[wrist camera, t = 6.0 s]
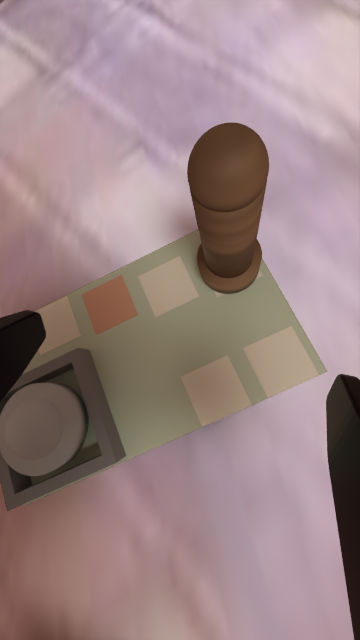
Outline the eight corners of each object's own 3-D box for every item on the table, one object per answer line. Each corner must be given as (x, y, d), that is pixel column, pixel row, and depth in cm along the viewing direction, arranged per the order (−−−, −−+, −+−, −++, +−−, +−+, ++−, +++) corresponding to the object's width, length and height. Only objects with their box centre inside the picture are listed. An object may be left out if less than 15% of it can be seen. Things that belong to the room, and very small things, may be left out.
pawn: (270, 277, 21) (317, 154, 10) (214, 303, 22) (195, 215, 10) (242, 228, 22) (254, 67, 11) (190, 254, 23) (148, 124, 11)
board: (323, 371, 20) (337, 370, 18) (30, 501, 22) (4, 517, 19) (235, 216, 24) (235, 197, 21) (-10, 338, 25) (-37, 333, 23)
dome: (103, 447, 20) (74, 462, 17) (31, 479, 21) (-14, 501, 17) (78, 370, 22) (45, 367, 18) (11, 401, 22) (-34, 405, 18)
